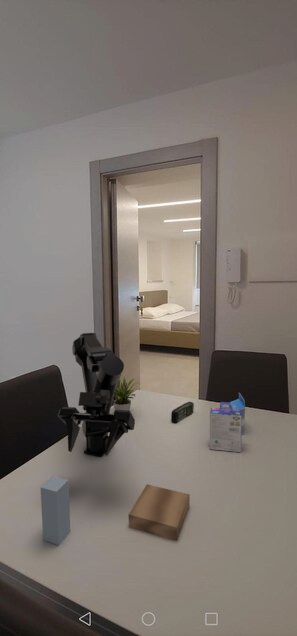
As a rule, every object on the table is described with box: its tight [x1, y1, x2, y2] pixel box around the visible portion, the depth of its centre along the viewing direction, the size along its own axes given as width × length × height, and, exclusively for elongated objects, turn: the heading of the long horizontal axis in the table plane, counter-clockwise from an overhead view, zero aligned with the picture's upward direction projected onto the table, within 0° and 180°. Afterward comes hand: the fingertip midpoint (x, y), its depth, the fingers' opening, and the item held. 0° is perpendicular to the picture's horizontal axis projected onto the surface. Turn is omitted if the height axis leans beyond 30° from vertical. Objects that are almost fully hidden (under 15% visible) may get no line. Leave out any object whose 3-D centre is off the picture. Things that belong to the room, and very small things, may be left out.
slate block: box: [40, 475, 71, 546], centre depth 68 cm, size 4×4×12 cm
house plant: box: [113, 376, 141, 412], centre depth 126 cm, size 14×14×16 cm
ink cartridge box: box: [209, 401, 242, 453], centre depth 103 cm, size 10×6×14 cm, turn 78°
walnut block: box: [128, 483, 191, 542], centre depth 74 cm, size 11×11×4 cm
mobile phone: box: [170, 401, 195, 424], centre depth 126 cm, size 5×3×15 cm
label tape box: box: [228, 392, 246, 436], centre depth 115 cm, size 9×4×12 cm, turn 178°
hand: (87, 453), depth 75 cm, fingers open, 9 cm apart
